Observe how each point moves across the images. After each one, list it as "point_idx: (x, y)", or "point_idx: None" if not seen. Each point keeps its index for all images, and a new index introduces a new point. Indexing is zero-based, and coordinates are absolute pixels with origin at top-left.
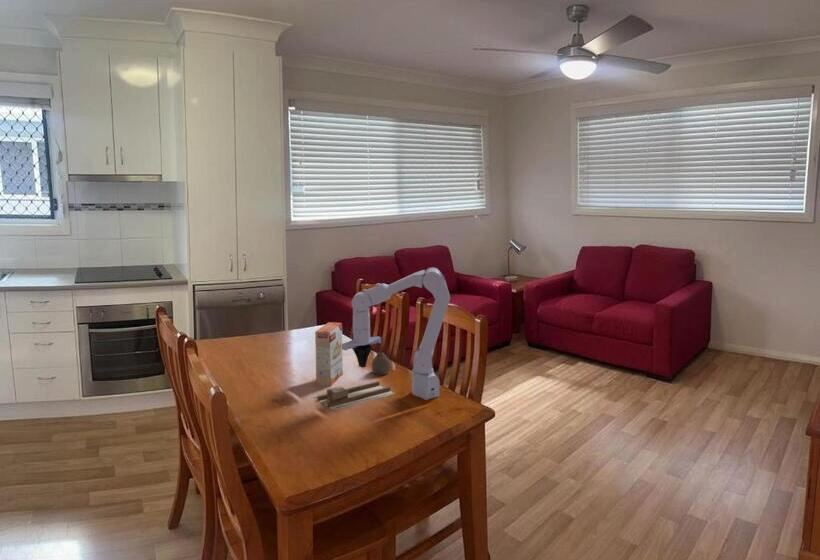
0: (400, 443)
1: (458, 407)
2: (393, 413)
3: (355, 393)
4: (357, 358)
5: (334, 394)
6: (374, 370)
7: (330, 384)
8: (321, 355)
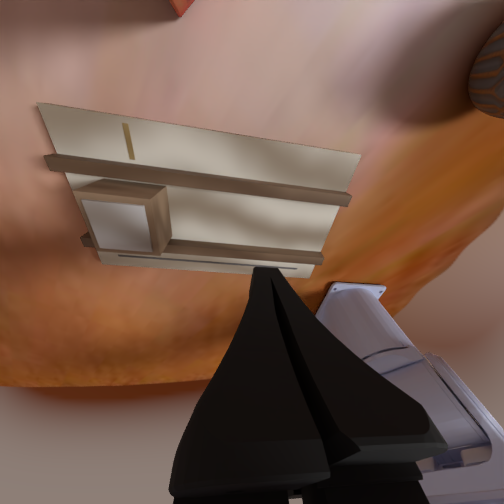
0: (177, 373)
1: None
2: (234, 322)
3: (226, 205)
4: (248, 304)
5: (99, 250)
6: (496, 53)
7: (172, 4)
8: None
